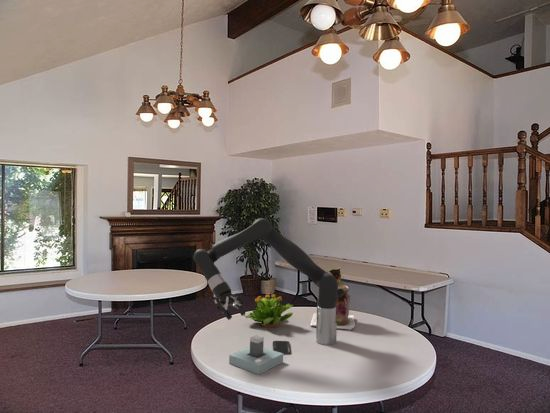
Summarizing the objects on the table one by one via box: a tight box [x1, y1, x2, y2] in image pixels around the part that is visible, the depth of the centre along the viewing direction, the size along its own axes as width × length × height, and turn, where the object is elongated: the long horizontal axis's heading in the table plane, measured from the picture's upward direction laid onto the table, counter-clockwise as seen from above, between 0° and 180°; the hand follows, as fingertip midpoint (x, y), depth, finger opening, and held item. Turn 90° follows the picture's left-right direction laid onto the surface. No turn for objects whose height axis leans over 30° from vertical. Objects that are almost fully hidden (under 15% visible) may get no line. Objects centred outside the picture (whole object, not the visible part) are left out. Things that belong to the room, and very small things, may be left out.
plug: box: [249, 334, 265, 358], centre depth 159 cm, size 4×4×10 cm
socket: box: [228, 346, 284, 375], centre depth 159 cm, size 16×16×4 cm
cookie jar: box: [309, 266, 356, 331], centre depth 219 cm, size 25×25×32 cm
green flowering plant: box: [243, 293, 294, 328], centre depth 212 cm, size 25×24×18 cm
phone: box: [272, 340, 292, 355], centre depth 177 cm, size 8×1×15 cm
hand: (237, 316), depth 166 cm, fingers open, 8 cm apart
